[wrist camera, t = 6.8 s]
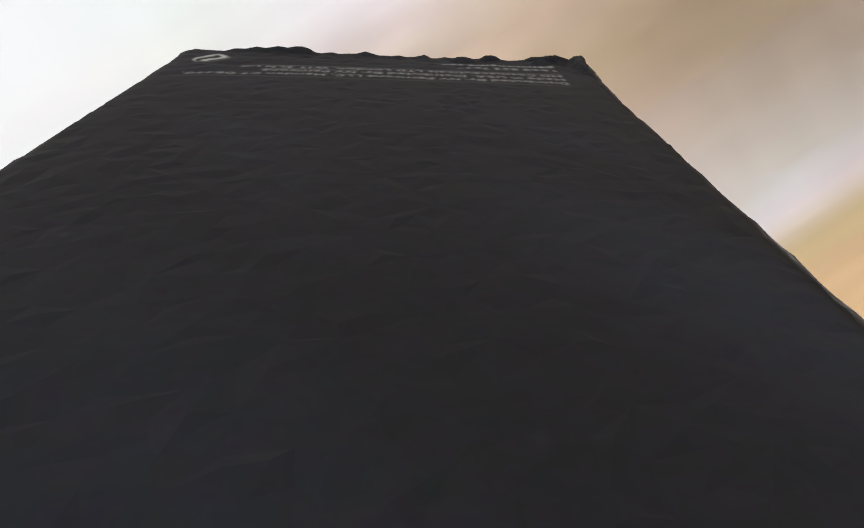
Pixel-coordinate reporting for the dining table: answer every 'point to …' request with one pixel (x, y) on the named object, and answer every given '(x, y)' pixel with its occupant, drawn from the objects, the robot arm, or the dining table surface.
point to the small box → (405, 312)
